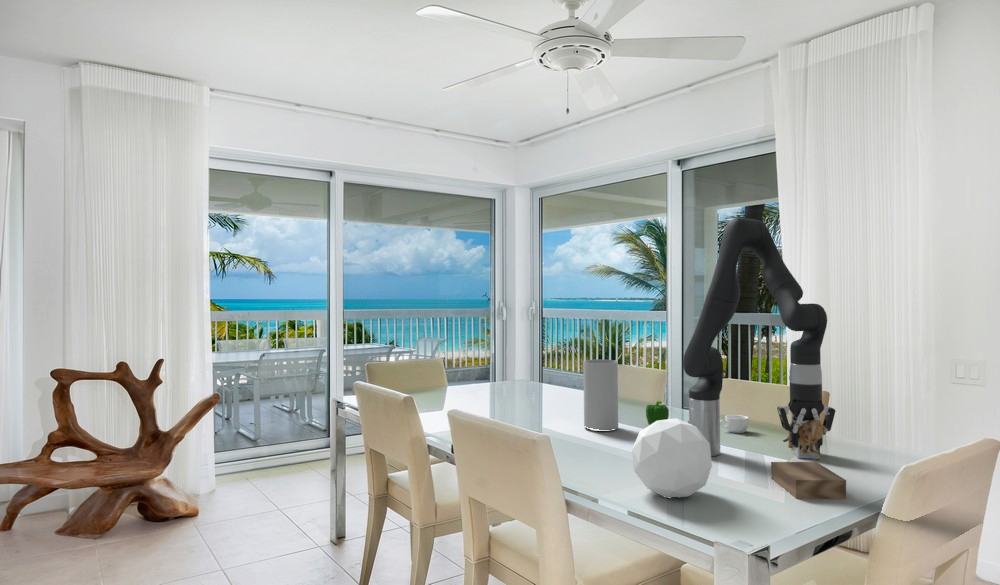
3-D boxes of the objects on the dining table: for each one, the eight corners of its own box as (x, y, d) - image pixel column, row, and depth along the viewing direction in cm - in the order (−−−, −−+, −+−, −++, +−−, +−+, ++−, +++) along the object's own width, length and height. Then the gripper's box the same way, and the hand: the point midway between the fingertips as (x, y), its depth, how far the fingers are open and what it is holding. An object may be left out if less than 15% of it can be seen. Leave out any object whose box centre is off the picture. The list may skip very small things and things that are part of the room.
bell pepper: (645, 423, 238) (644, 397, 238) (667, 424, 237) (666, 398, 237) (647, 428, 230) (646, 401, 230) (670, 429, 229) (669, 402, 229)
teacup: (743, 429, 227) (743, 414, 227) (752, 434, 219) (751, 419, 219) (716, 429, 227) (716, 414, 227) (723, 434, 220) (723, 419, 220)
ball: (675, 529, 152) (654, 477, 142) (629, 479, 169) (608, 429, 159) (736, 486, 155) (720, 432, 145) (685, 441, 172) (668, 390, 162)
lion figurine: (831, 456, 156) (830, 420, 156) (813, 458, 154) (812, 421, 154) (791, 442, 170) (790, 409, 170) (774, 444, 169) (773, 411, 169)
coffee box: (821, 459, 187) (820, 405, 187) (797, 458, 188) (797, 405, 188) (812, 451, 196) (811, 400, 196) (790, 450, 197) (789, 399, 197)
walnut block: (795, 500, 153) (795, 480, 153) (771, 480, 169) (771, 461, 169) (846, 500, 152) (846, 480, 152) (816, 480, 168) (816, 461, 168)
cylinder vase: (621, 432, 225) (620, 363, 225) (586, 432, 225) (585, 363, 225) (615, 424, 237) (614, 359, 237) (582, 425, 238) (581, 359, 237)
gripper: (781, 383, 158) (782, 450, 158) (841, 383, 156) (842, 451, 156) (772, 378, 165) (772, 443, 165) (829, 379, 163) (829, 444, 163)
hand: (806, 446), depth 161 cm, fingers closed on lion figurine, 4 cm apart
